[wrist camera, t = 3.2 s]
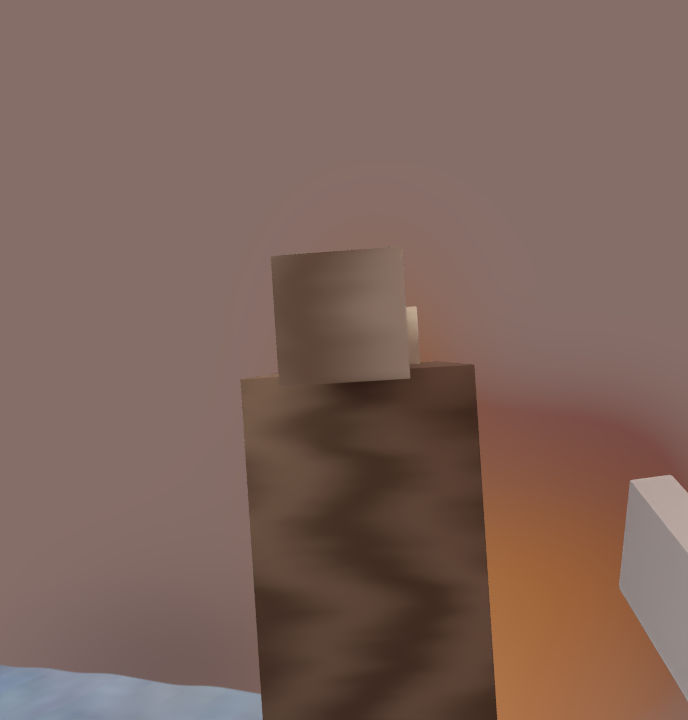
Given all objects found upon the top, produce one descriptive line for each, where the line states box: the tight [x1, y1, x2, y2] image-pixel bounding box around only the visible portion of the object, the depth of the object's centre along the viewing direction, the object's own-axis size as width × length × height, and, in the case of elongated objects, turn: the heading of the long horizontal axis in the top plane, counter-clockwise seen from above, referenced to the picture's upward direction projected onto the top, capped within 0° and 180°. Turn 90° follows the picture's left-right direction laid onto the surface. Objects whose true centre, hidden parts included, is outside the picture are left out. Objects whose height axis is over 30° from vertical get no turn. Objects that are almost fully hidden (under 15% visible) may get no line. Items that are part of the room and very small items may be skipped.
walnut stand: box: [241, 362, 497, 720], centre depth 33 cm, size 10×15×30 cm, turn 177°
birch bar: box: [271, 247, 420, 387], centre depth 27 cm, size 7×24×3 cm, turn 177°
